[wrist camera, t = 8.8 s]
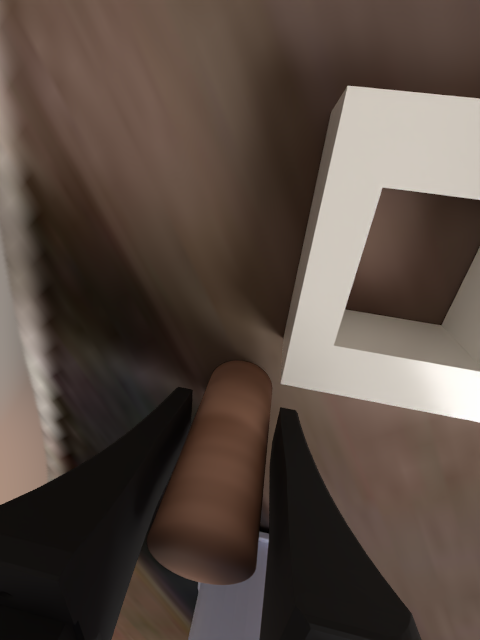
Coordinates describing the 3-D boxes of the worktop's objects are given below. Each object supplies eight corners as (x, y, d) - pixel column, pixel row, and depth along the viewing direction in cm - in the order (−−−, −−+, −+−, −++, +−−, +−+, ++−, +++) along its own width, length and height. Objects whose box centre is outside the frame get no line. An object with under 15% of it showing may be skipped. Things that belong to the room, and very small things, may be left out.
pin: (267, 415, 15) (248, 594, 8) (208, 404, 15) (148, 569, 9) (277, 366, 13) (264, 538, 7) (212, 355, 13) (144, 510, 7)
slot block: (456, 369, 12) (502, 426, 9) (283, 339, 12) (280, 383, 10) (585, 138, 8) (726, 122, 6) (331, 111, 9) (347, 85, 6)
